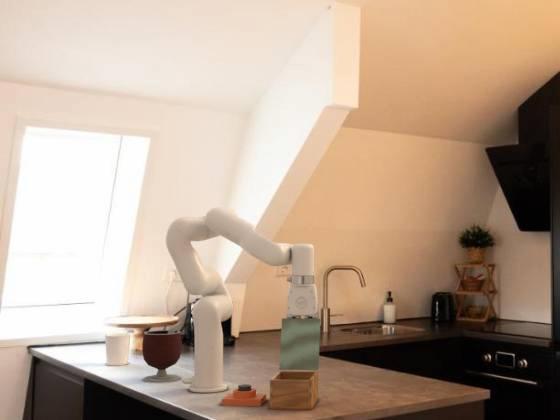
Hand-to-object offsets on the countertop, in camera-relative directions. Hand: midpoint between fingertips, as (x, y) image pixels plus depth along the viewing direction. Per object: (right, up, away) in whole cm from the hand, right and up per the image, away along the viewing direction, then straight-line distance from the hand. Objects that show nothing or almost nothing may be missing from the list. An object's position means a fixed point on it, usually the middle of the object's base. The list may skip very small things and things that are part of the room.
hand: (302, 336), depth 253 cm
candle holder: (-82, -21, +60) cm, 104 cm away
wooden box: (-1, -19, -16) cm, 24 cm away
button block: (-17, -19, -14) cm, 29 cm away
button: (-17, -15, -14) cm, 26 cm away
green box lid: (0, -1, -5) cm, 6 cm away
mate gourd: (-54, -20, +27) cm, 63 cm away
